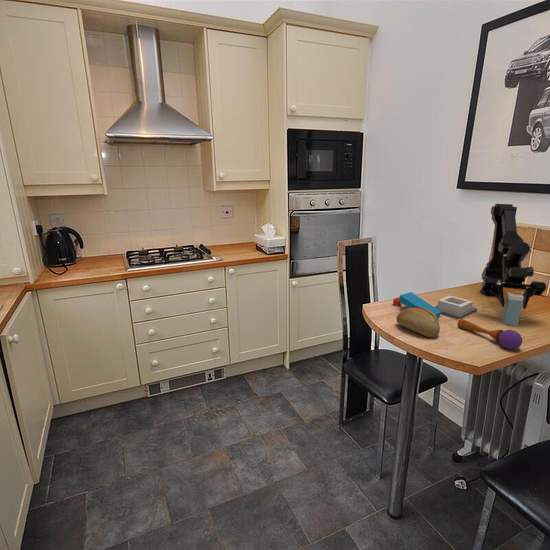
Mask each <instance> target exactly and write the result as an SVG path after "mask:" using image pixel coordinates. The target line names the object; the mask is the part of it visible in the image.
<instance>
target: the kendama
mask: <svg viewBox="0 0 550 550" xmlns="http://www.w3.org/2000/svg"><path fill="white" fill-rule="evenodd" d="M457 327H458V329H459V328H460V329H463V330H468V331H472V332H476V333H477V332H478V333H483V334H485V335H489V336H490V338H492V339H493V340H494V341H495V342H496V343H499V344H500V345H501V346H502V347H503V348H504V349H507V350H517V349H519V348H520V347H521V346H522V343H523V338H522V335H521V334H520V333H519V332H518V331H516V330H513V329H505V330H503V329H494V330H488V329H486V328H484V327H481V326H479V325H477V324H475V323H473V322H470V321H468V320H465V319H464V318H462V319H460V320H458V321H457Z"/></svg>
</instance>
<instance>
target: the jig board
mask: <svg viewBox="0 0 550 550" xmlns="http://www.w3.org/2000/svg"><path fill="white" fill-rule="evenodd" d="M434 307H435V308H436V309H438V310H439V311H441V315H442V314H443V316H445V315H446V317H449V316H450V317H449V318H452V317H453V318H452V319H455V318H456V320H458V319H461V318H462V319H464V318H466V317H468V316H470V315H472V314H474V313H476V312H478V308H477V307H475V306H473V301H472V300H468V299H465V298H460V297H458V296H457V297H456V296H454V295H447V296H445V297H442V298H440V299H438V301H437V305H435V306H434ZM469 314H470V315H469ZM465 316H466V317H465ZM463 317H464V318H463Z"/></svg>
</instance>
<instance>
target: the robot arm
mask: <svg viewBox="0 0 550 550" xmlns="http://www.w3.org/2000/svg"><path fill="white" fill-rule="evenodd" d="M517 209H518V207H517V206H514V204H512V203H494V206H491V208H490V215H491V221H492V222H493V223H494V232H493V240H492V241H493V242H492V250H491V258H490V259H489V260H488V262H487V263H486V264H485V265H486V266H485V267H484V268H483V270H482V272H481V280H482V283H481V290H479V292H480V293H482V294H483V295H485V296H487V297H496V299H497V300H498V302H499V304H500V305H501V307H503V308H504V307H505V296H504V289H513V290H523V291H524V292H523V294H522V296H523V297H524V299H523V302H522V308H523V310H526V309H527V306H528V303H529V300H530V298H531V297H534V296H537V297H539V296H542V295H543V294H544V292H546V290H547V284H546V283H545V282H544V281H536V280H532V281H531V282H530V284H526V283H524V282H525V281H526V279H527V278H528V277H530V278H531V277H533V276H534V274H535V273H534V267H533V266H526V267H522V262H524V260H525V259H526V258H527V256H528V254H529V253H530V251H531V246H530V245H529V244H528V243H527V242H525V241H524V239H523V238H522V237H521V236H520V235H519V234H518V231H517V229H518V228H517V219H516V216H517V211H518V210H517Z"/></svg>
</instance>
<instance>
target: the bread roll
mask: <svg viewBox="0 0 550 550" xmlns="http://www.w3.org/2000/svg"><path fill="white" fill-rule="evenodd" d="M396 323H397V324H398V325H399V326H402V327H403V328H406V329H408V330H411V331H412V332H415V333H418V334H419V335H421V336H424V337H427V338H430V339H431V338H435V337H438V336H439V333H440V332H441V331H440V330H441V327H440V323H439V320H438V317H436V315H435V314H434V313H433V312H432V311H430V310H428V309H426V308H422V307H417V306H415V307H411V308H409V307H407V308H405V309H404V310H402V311H400V312H399V313H398V315H397V316H396Z"/></svg>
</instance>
